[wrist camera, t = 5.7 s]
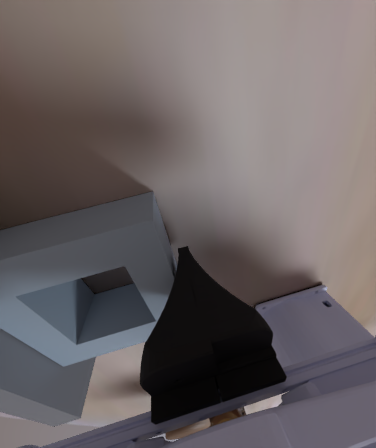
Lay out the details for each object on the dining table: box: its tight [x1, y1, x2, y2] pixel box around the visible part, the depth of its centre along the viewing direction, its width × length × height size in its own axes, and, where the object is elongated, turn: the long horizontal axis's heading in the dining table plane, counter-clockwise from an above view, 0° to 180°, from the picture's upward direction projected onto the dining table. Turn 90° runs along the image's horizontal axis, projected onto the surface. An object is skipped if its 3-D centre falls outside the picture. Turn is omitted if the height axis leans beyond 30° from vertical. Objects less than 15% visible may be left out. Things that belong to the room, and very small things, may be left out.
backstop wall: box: [0, 328, 96, 427], centre depth 10 cm, size 2×18×6 cm, turn 12°
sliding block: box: [0, 191, 177, 367], centre depth 11 cm, size 10×10×4 cm
